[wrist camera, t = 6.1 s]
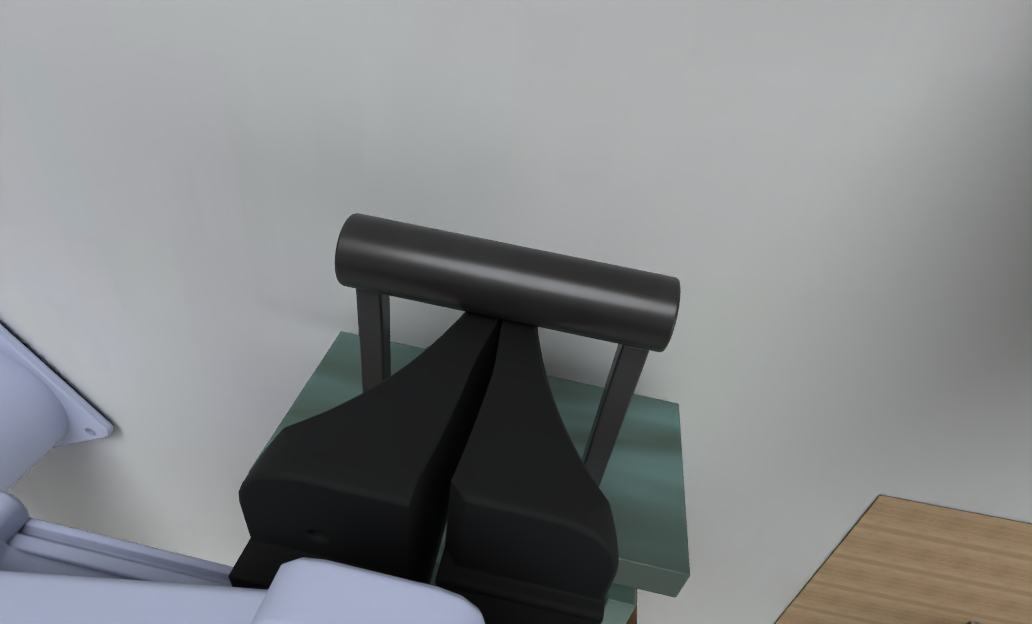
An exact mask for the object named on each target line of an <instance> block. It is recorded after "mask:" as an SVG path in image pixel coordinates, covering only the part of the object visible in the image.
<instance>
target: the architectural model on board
mask: <svg viewBox="0 0 1032 624" xmlns="http://www.w3.org/2000/svg"><path fill="white" fill-rule="evenodd" d="M775 624H1032V524H1027V523H1021V522H1016V521H1011V520H1006V519H1001V518H995V517H990V516H985V515H980V514H975V513H969V512H964V511H959V510H954V509H949V508H943V507H938V506H933V505H928V504H923V503H918V502H912V501H907V500H902V499H897V498H892V497H886V496H881V495H880V496H879V498H878V499H877V500H876V501H875V502H874V504H873V505H872V506H871V507H870V508H869V510H868V511H867V512H866V513H865V515H864V516H863V517H862V518H861V519H860V521H859V522H858V523H857V524H856V526H855V527H854V528H853V529H852V530H851V532H850V533H849V534H848V535H847V537H846V538H845V539H844V540H843V541H842V543H841V544H840V545H839V546H838V547H837V549H836V550H835V551H834V552H833V554H832V555H831V556H830V557H829V558H828V560H827V561H826V562H825V563H824V565H823V566H822V567H821V568H820V569H819V571H818V572H817V573H816V574H815V576H814V577H813V578H812V579H811V580H810V582H809V583H808V584H807V585H806V586H805V588H804V589H803V590H802V591H801V593H800V594H799V595H798V596H797V597H796V599H795V600H794V601H793V602H792V604H791V605H790V606H789V607H788V608H787V610H786V611H785V612H784V613H783V615H782V616H781V617H780V618H779V619H778V621H777V622H776V623H775Z"/></svg>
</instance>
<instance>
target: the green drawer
mask: <svg viewBox="0 0 1032 624" xmlns="http://www.w3.org/2000/svg"><path fill="white" fill-rule="evenodd" d="M335 272H336V277H337V280H338V281H339V283H340V284H342V285H343V286H347V287H352V288H356V295H357V310H358V325H359V335H357V334H352V333H347V332H343V331H341V332H340V334H339V335H338V337H337V338H336V340H335V341H334V343H333V344H332V346H331V347H330V349H329V350H328V352H327V353H326V355H325V356H324V358H323V360H322V361H321V363H320V364H319V366H318V367H317V369H316V370H315V372H314V373H313V375H312V376H311V378H310V379H309V381H308V382H307V384H306V385H305V387H304V388H303V390H302V392H301V393H300V395H299V396H298V398H297V399H296V401H295V402H294V404H293V405H292V407H291V408H290V410H289V411H288V413H287V414H286V416H285V417H284V419H283V420H282V422H281V424H280V425H279V427H278V428H277V430H276V431H275V433H274V434H273V436H272V437H271V439H270V440H269V442H268V443H267V445H266V446H265V448H264V449H263V451H264V450H265V449H266V448H267V447H268V445H269V444H270V443H271V442H272V441H273V440H274V438H275V437H276V436H277V435H278V434H279V433H280V431H281V430H282V429H283V428H284V427H287V426H290V425H293V424H295V423H298V422H300V421H303V420H305V419H308V418H311V417H313V416H316V415H318V414H321V413H323V412H326V411H328V410H330V409H332V408H334V407H336V406H338V405H340V404H342V403H344V402H346V401H348V400H350V399H352V398H354V397H356V396H358V395H360V394H362V393H364V392H365V391H367V390H369V389H371V388H372V387H374V386H376V385H377V384H379V383H380V382H382V381H383V380H385V379H387V378H388V377H390V376H391V375H393V374H394V373H396V372H397V371H399V370H400V369H402V368H403V367H404V366H406V365H407V364H408V363H410V362H411V361H412V360H414V359H415V358H416V357H418V356H419V355H420V354H421V353H422V352H424V351H425V350H426V349H422V348H417V347H412V346H408V345H403V344H398V343H394V342H390V298H389V295H390V296H394V297H399V298H404V299H409V300H413V301H418V302H423V303H428V304H433V305H437V306H442V307H447V308H452V309H456V310H461V311H466V312H471V313H475V314H480V315H485V316H490V317H494V318H499V319H504V320H509V321H513V322H518V323H523V324H528V325H532V326H537V327H542V328H547V329H551V330H556V331H561V332H566V333H571V334H575V335H580V336H585V337H590V338H594V339H599V340H604V341H609V342H613V343H618V347H617V350H616V353H615V356H614V359H613V363H612V366H611V369H610V372H609V375H608V378H607V381H606V385H605V388H603V387H598V386H594V385H589V384H584V383H580V382H575V381H570V380H566V379H561V378H556V377H552V376H547V379H548V382H549V386H550V389H551V392H552V395H553V398H554V401H555V403H556V406H557V409H558V411H559V414H560V416H561V419H562V421H563V423H564V426H565V428H566V430H567V432H568V434H569V436H570V438H571V440H572V442H573V444H574V446H575V448H576V450H577V452H578V454H579V456H580V458H581V459H582V461H583V463H584V464H585V466H586V468H587V469H588V471H589V473H590V474H591V476H592V478H593V479H594V481H595V482H596V484H597V485H598V487H599V488H600V490H601V491H602V493H603V494H604V495H605V497H606V498H607V500H608V501H609V503H610V506H611V511H612V515H613V519H614V524H615V529H616V534H617V541H618V551H619V565H618V570H617V574H616V576H615V578H614V580H613V582H612V584H611V586H610V588H609V590H608V592H607V595H606V597H605V603H604V617H603V621H602V623H601V624H626V623H627V621H628V619H629V617H630V615H631V614H632V612H633V610H634V608H635V606H636V588H637V589H641V590H645V591H650V592H654V593H658V594H662V595H667V596H671V597H676V596H677V595H678V593H679V592H680V590H681V589H682V587H683V586H684V584H685V583H686V581H687V579H688V578H689V576H690V567H689V552H688V537H687V522H686V507H685V491H684V476H683V461H682V446H681V431H680V416H679V404H677V403H673V402H668V401H663V400H659V399H654V398H649V397H645V396H640V395H635V394H633V393H634V391H635V388H636V385H637V383H638V380H639V377H640V374H641V372H642V369H643V366H644V364H645V361H646V358H647V355H648V353H649V350H651V351H656V352H662V351H664V350H665V348H666V347H667V345H668V343H669V341H670V339H671V336H672V334H673V331H674V327H675V324H676V320H677V315H678V310H679V303H680V282H679V280H678V279H677V278H676V277H671V276H666V275H661V274H656V273H651V272H646V271H641V270H636V269H631V268H626V267H621V266H616V265H611V264H607V263H602V262H597V261H592V260H587V259H582V258H577V257H572V256H567V255H562V254H557V253H552V252H547V251H542V250H537V249H532V248H527V247H522V246H517V245H512V244H507V243H502V242H498V241H493V240H488V239H483V238H478V237H473V236H468V235H463V234H458V233H453V232H448V231H443V230H438V229H433V228H428V227H423V226H418V225H413V224H408V223H403V222H398V221H393V220H389V219H384V218H379V217H374V216H369V215H364V214H359V213H356V214H352V215H351V216H350V217H349V218H348V219H347V220H346V222H345V223H344V225H343V227H342V230H341V232H340V235H339V238H338V242H337V247H336V253H335ZM263 451H262V452H261V454H262V453H263ZM261 454H260V456H261ZM260 456H259V457H260ZM259 457H258V459H259ZM258 459H257V460H258ZM257 460H256V462H257ZM256 462H255V463H256ZM255 463H254V465H255ZM254 465H253V466H254ZM253 466H252V468H253ZM252 468H251V469H252ZM251 469H250V471H251ZM250 471H249V472H250ZM248 474H249V473H248ZM446 528H447V523H446V527H445V530H444V534H443V538H442V542H441V545H440V549H439V553H438V557H437V560H436V564H435V568H434V572H433V576H432V579H431V583H430V585H433V586H436V584H435V579H436V575H437V572H438V568H439V565H440V561H441V558H442V555H443V551H444V548H445V539H446Z"/></svg>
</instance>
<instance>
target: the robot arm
mask: <svg viewBox="0 0 1032 624" xmlns="http://www.w3.org/2000/svg"><path fill="white" fill-rule="evenodd" d="M113 430H114V428H113V426H112V424H111V423H110V422H109V421H108V420H106V419H105V418H104V417H103V416H102V415H101V414H100V413H99V412H98V411H97V410H95V409H94V408H93V407H92V406H91V405H90V404H89V403H88V402H87V401H85V400H84V399H83V398H82V397H81V396H80V395H79V394H78V393H77V392H75V391H74V390H73V389H72V388H71V387H70V386H69V385H68V384H67V383H65V382H64V381H63V380H62V379H61V378H60V377H59V376H58V375H57V374H55V373H54V372H53V371H52V370H51V369H50V368H49V367H48V366H47V365H45V364H44V363H43V362H42V361H41V360H40V359H39V358H38V357H37V356H36V355H34V354H33V353H32V352H31V351H30V350H29V349H28V348H27V347H26V346H24V345H23V344H22V343H21V342H20V341H19V340H18V339H17V338H16V337H14V336H13V335H12V334H11V333H10V332H9V331H8V330H7V329H6V328H4V327H3V326H2V325H1V324H0V624H601V623H602V621H603V617H604V603H605V597H606V595H607V592H608V590H609V588H610V586H611V584H612V582H613V580H614V578H615V576H616V574H617V570H618V565H619V551H618V541H617V534H616V529H615V524H614V519H613V515H612V511H611V506H610V503H609V501H608V500H607V498H606V497H605V495H604V494H603V493H602V491H601V490H600V488H599V487H598V485H597V484H596V482H595V481H594V479H593V478H592V476H591V474H590V473H589V471H588V469H587V468H586V466H585V464H584V463H583V461H582V459H581V458H580V456H579V454H578V452H577V450H576V448H575V446H574V444H573V442H572V440H571V438H570V436H569V434H568V432H567V430H566V428H565V426H564V423H563V421H562V419H561V416H560V414H559V411H558V409H557V406H556V403H555V401H554V398H553V395H552V392H551V389H550V386H549V382H548V379H547V375H546V371H545V367H544V363H543V359H542V353H541V348H540V343H539V336H538V327H537V326H532V325H528V324H523V323H518V322H513V321H509V320H504V319H499V318H494V317H490V316H485V315H480V314H475V313H471V312H465V313H464V314H463V315H462V316H461V317H460V318H459V319H458V320H457V321H456V322H455V323H454V324H453V325H452V326H451V327H450V328H449V329H448V330H447V331H446V332H445V333H444V334H443V335H442V336H441V337H440V338H439V339H438V340H436V341H435V342H434V343H433V344H432V345H431V346H429V347H428V348H427V349H426V350H425V351H424V352H422V353H421V354H420V355H419V356H418V357H416V358H415V359H414V360H412V361H411V362H410V363H408V364H407V365H406V366H404V367H403V368H402V369H400V370H399V371H397V372H396V373H394V374H393V375H391V376H390V377H388V378H387V379H385V380H383V381H382V382H380V383H379V384H377V385H376V386H374V387H372V388H371V389H369V390H367V391H365V392H364V393H362V394H360V395H358V396H356V397H354V398H352V399H350V400H348V401H346V402H344V403H342V404H340V405H338V406H336V407H334V408H332V409H330V410H328V411H326V412H323V413H321V414H318V415H316V416H313V417H311V418H308V419H305V420H303V421H300V422H298V423H295V424H293V425H290V426H287V427H284V428H283V429H282V430H281V431H280V433H279V434H278V435H277V436H276V437H275V438H274V440H273V441H272V442H271V443H270V444H269V445H268V447H267V448H266V449H265V450H264V451H263V453H262V454H261V456H260V457H259V459H258V460H257V462H256V463H255V465H254V466H253V468H252V469H251V471H250V472H249V474H248V475H247V477H246V478H245V480H244V482H243V483H242V485H241V488H240V490H239V501H240V505H241V508H242V511H243V514H244V517H245V521H246V524H247V527H248V530H249V533H250V536H251V538H250V540H249V542H248V544H247V545H246V547H245V549H244V550H243V552H242V554H241V555H240V557H239V559H238V561H237V562H236V564H235V566H234V567H231V566H227V565H222V564H218V563H214V562H210V561H206V560H202V559H198V558H194V557H190V556H186V555H182V554H178V553H174V552H169V551H165V550H161V549H157V548H153V547H149V546H145V545H141V544H137V543H133V542H129V541H125V540H120V539H116V538H112V537H108V536H104V535H100V534H96V533H92V532H88V531H84V530H80V529H76V528H72V527H67V526H63V525H59V524H55V523H51V522H47V521H43V520H39V519H35V518H31V517H30V516H29V513H28V511H27V509H26V507H25V506H24V504H23V503H22V502H21V501H20V500H19V499H18V498H16V497H15V496H13V495H11V494H9V493H7V491H8V490H9V489H10V488H11V487H12V486H13V485H14V484H15V483H16V482H17V481H18V480H19V479H20V478H21V477H22V476H23V475H24V474H25V473H26V472H27V471H29V470H30V469H31V468H32V467H33V466H34V465H35V464H36V463H37V462H38V461H39V460H40V459H41V458H42V457H43V456H44V455H45V454H46V453H47V452H48V451H49V450H50V449H51V448H54V447H59V446H64V445H69V444H74V443H79V442H84V441H89V440H94V439H99V438H104V437H107V436H109V435H110V434H111V433H112V432H113ZM446 523H447V528H446V539H445V548H444V551H443V555H442V558H441V561H440V565H439V568H438V572H437V575H436V579H435V584H436V586H433V585H430V583H431V579H432V576H433V572H434V568H435V564H436V560H437V557H438V553H439V549H440V545H441V542H442V538H443V534H444V530H445V527H446Z"/></svg>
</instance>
